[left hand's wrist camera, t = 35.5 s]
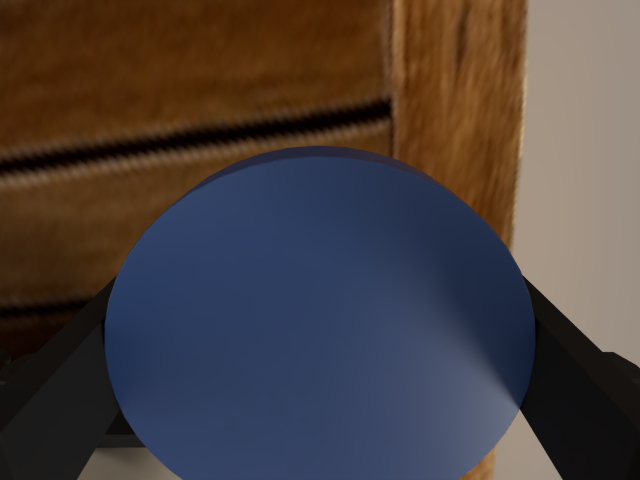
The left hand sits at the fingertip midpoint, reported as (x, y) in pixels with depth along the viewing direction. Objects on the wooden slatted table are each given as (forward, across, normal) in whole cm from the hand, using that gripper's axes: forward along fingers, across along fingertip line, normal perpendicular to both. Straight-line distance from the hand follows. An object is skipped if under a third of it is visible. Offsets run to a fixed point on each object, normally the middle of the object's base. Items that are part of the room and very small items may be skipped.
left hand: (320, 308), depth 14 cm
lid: (-3, 0, 0) cm, 3 cm away
